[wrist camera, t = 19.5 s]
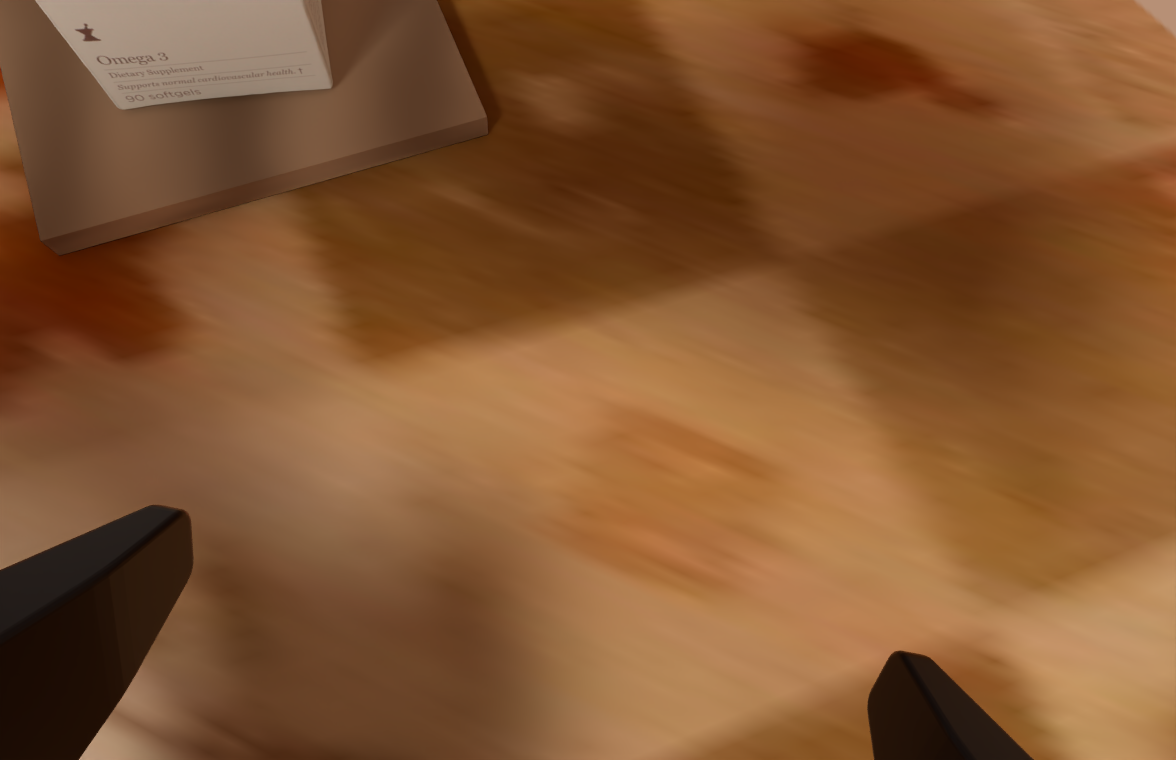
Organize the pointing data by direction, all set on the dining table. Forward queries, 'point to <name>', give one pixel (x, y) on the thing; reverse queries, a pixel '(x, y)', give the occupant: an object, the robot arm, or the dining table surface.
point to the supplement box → (195, 47)
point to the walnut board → (227, 123)
